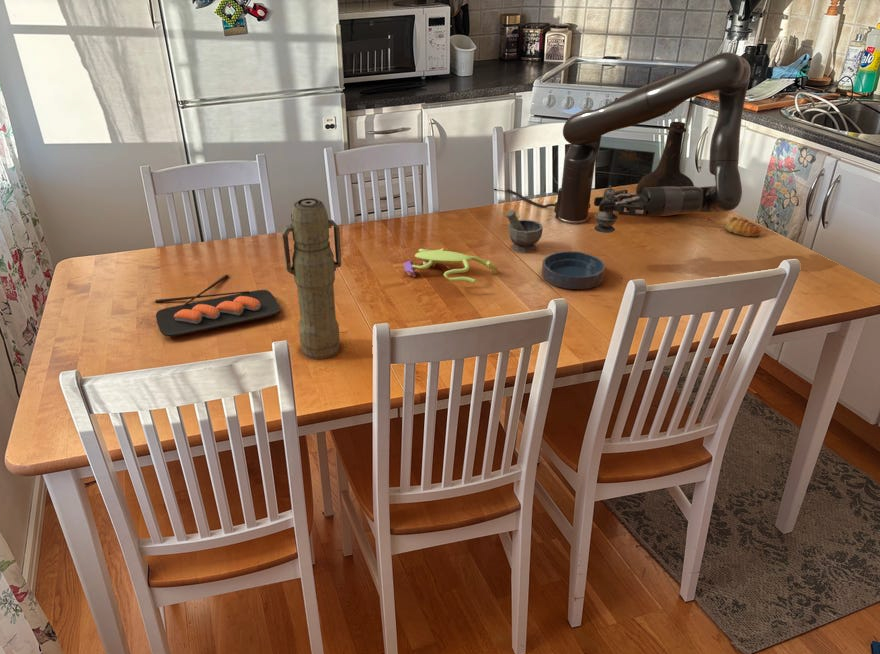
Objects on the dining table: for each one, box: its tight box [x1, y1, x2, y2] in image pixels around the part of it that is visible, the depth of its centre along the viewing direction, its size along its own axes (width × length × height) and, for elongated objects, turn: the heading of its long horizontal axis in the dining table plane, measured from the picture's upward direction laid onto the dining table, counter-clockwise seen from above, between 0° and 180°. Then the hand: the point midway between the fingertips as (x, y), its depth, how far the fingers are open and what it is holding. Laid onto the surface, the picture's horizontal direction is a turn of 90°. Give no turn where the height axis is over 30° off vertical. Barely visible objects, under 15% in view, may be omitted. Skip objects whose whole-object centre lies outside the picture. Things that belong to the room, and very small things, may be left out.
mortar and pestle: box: [505, 209, 544, 253], centre depth 209 cm, size 11×9×12 cm
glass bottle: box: [635, 121, 695, 194], centre depth 229 cm, size 18×18×28 cm
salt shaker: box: [594, 185, 619, 234], centre depth 191 cm, size 6×6×12 cm
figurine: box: [402, 247, 499, 285], centre depth 197 cm, size 18×27×6 cm
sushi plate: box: [155, 274, 281, 337], centre depth 184 cm, size 29×30×4 cm
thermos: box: [281, 197, 342, 360], centre depth 157 cm, size 9×12×35 cm
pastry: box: [725, 216, 762, 237], centre depth 219 cm, size 9×7×4 cm
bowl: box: [541, 251, 606, 290], centre depth 195 cm, size 16×16×4 cm
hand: (597, 204), depth 190 cm, fingers closed on salt shaker, 3 cm apart
